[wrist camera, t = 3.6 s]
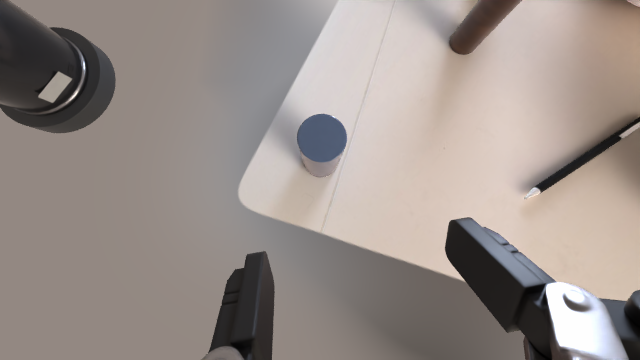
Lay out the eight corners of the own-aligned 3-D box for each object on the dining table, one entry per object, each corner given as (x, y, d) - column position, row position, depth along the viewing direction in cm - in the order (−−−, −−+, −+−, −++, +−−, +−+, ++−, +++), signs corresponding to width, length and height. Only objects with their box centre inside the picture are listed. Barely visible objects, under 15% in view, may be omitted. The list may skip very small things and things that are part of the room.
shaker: (298, 168, 29) (288, 150, 20) (312, 138, 29) (309, 105, 20) (329, 182, 29) (335, 170, 20) (343, 151, 29) (354, 125, 20)
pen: (651, 117, 30) (664, 113, 29) (523, 202, 28) (531, 201, 27) (646, 111, 30) (658, 107, 29) (518, 195, 29) (526, 194, 27)
